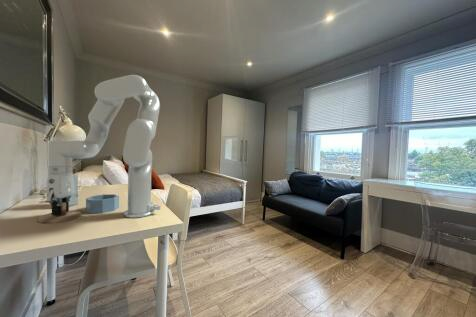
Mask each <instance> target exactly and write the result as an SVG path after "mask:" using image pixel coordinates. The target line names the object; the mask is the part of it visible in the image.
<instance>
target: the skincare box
mask: <svg viewBox="0 0 476 317" xmlns="http://www.w3.org/2000/svg"><path fill="white" fill-rule="evenodd" d="M73 176H74V185H75V193H74V194H73V195H71V197H70V201H69V202H68V203H69V207H72V206H75V205H78V204H79V183H78V182H79V177H78V176H79V175H78V174H74V173H73ZM55 198H56V197H55ZM56 201H57V200H56Z"/></svg>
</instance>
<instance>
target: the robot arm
mask: <svg viewBox="0 0 476 317" xmlns="http://www.w3.org/2000/svg"><path fill="white" fill-rule="evenodd" d="M94 95H95V98H96V100H97V101H96V102H95V104H94V105H93V107H92V108H91V110H90V112H89V113H88V116H87V117H88V121H89V122H88V123H89V132H88V134H87V135H86V137H85V139H84V140H61V139H53V140H49V141H48V143H47V151H48V152H47V154H48V155H47V162H48V163H47V167H48V168H47V175H48V176H47V180H46V186H45V187H46V190H45V194H46V200H45V201H46V202H47V203H49V204H50V207H51V213H52V216H55V215H61V214H62V205H60V203H61V202H66V212H68V211H70V206H69V203H68V202H69V201H70V197H71V195H73V194H74V193H75V185H74V176H73V174H74V173H73V159H77V160H78V159H79V160H80V159H90V158H93V157H95V156H96V155H97V154H99V153H100V151H101V149H102V147H103V146H104V144H105V142H106V141H107V138H108V135H109V132H110V127H111V125H112V123H113V122H114V120H115V118H116V116H117V114H118V113H119V111H120V110H121V108H122V106H123V104H124V103H125V100H126V99H129V98H133V99H135V100H137V101H138V103H139V109H138V112H137V118H136V119H133V121H131V122H130V124H128V127H127V131H126V135H125V139H124V144H123V149H122V158H123V159H122V160H123V161H124V163H125V164H126V165H128V171H127V174H128V175H127V209H126V210H125V211H124V212H123V216H124V217H126V218H130V219H131V218H135V219H137V218H144V217H148V216H151V215H153V214H154V213H155V211H160V210H161V205H160V204H153V201H152V170H153V168H152V167H153V152H152V150H151V149H150V148H151V144H152V141H153V140H154V138H155V137H156V133H157V128H158V127H157V126H158V121H159V115H160V110H161V103H160V102H161V101H160V99H159V97H158V95H157V93H155V92H154V90H152V89H151V87H150V86H149V84H148V82H147V81H146V80H145V78H143V77H142V76H141V75H137V74H128V75H124V76H119V77H116V78H115V77H114V78H112V79H108V80H104V81H101V82H99V83H98V84H97V85H96V86H95V87H94ZM55 197H56V198H55ZM56 200H57V201H56Z"/></svg>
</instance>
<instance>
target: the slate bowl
mask: <svg viewBox="0 0 476 317" xmlns="http://www.w3.org/2000/svg"><path fill="white" fill-rule="evenodd" d="M119 202H120V196H119V195H118V194H106V193H105V194H97V195H96V194H95V195H92V196H89V197H87V198H85V212H87V213H89V214H105V213H110V212H113V211H116V210H117V209H119V207H120V204H119Z"/></svg>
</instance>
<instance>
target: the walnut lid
mask: <svg viewBox="0 0 476 317" xmlns="http://www.w3.org/2000/svg"><path fill="white" fill-rule="evenodd" d="M60 205H62V214H61V215H55V216H52V212H50V213H46V214H42V215H41V216H39V217H37V222H38V223H39V224H58V223H65V222H68V221H72V220H76V219H78V218H79V217H81V216H82V211H80V210H73V209H72V210H70V209H69V211H68V212H66V202H61V203H60Z"/></svg>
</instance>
